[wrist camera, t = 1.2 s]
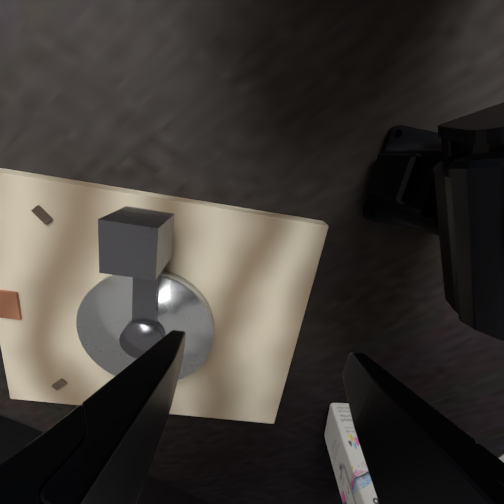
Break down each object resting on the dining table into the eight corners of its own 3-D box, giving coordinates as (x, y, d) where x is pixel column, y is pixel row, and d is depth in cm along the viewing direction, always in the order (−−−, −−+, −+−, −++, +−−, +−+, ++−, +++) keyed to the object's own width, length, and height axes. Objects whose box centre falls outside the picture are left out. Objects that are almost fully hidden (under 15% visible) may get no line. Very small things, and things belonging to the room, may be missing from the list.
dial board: (322, 220, 21) (329, 226, 19) (272, 409, 27) (274, 425, 26) (-12, 165, 19) (-36, 167, 17) (23, 384, 25) (8, 400, 24)
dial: (206, 379, 23) (198, 431, 19) (87, 366, 23) (50, 418, 18) (230, 217, 18) (226, 239, 14) (79, 193, 18) (24, 208, 13)
